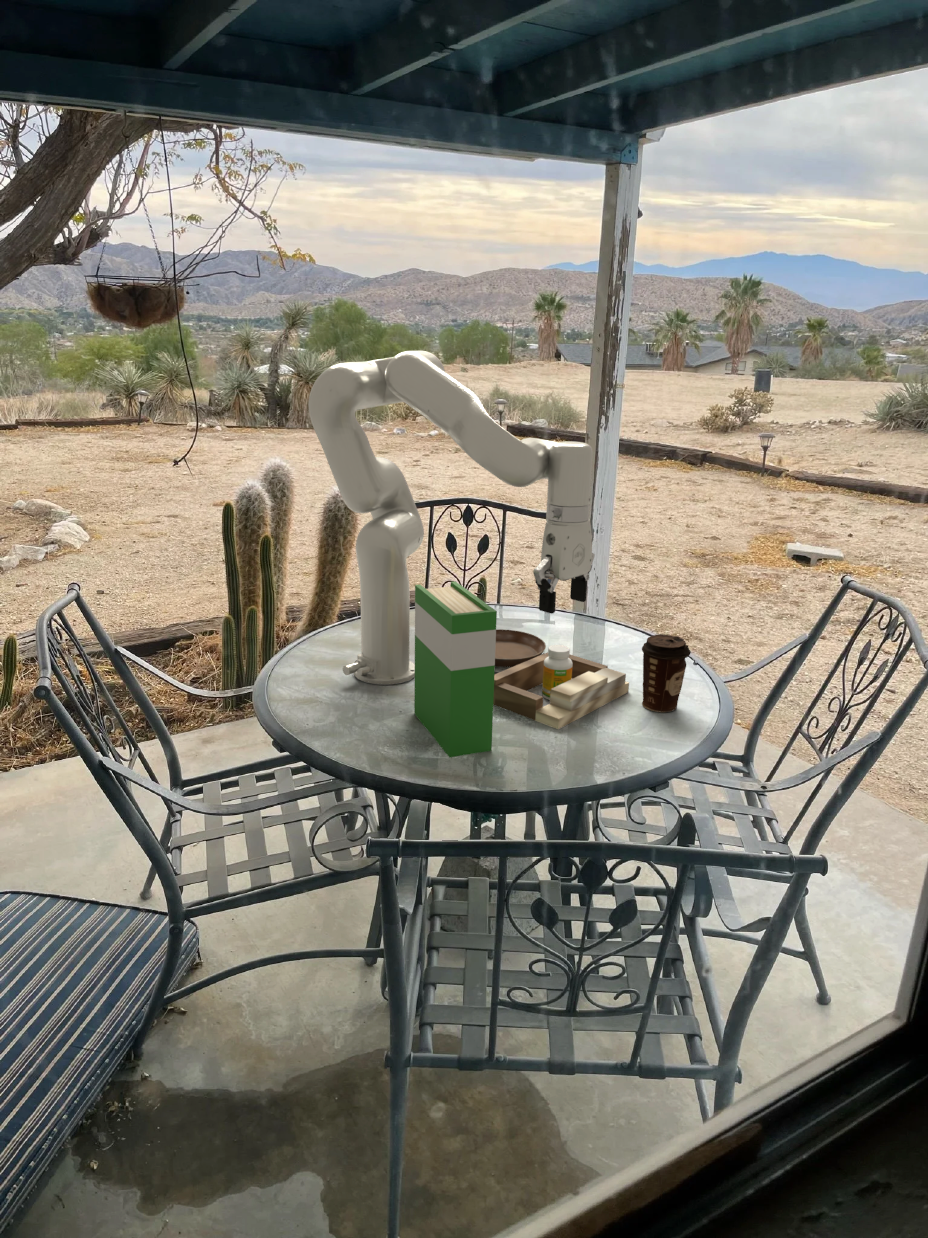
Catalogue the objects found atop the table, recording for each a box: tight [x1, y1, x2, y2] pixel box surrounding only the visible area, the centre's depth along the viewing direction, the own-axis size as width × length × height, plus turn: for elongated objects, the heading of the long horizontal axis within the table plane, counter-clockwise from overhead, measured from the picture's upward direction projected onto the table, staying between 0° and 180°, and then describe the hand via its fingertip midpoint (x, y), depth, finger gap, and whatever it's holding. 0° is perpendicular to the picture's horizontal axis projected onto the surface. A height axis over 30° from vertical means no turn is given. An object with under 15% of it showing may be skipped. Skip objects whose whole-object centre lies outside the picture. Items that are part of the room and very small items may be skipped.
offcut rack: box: [493, 651, 630, 730], centre depth 160 cm, size 23×16×5 cm
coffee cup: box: [641, 633, 692, 713], centre depth 156 cm, size 9×8×13 cm
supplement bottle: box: [541, 644, 573, 701], centre depth 159 cm, size 5×5×10 cm
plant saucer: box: [495, 628, 547, 668], centre depth 181 cm, size 18×18×3 cm
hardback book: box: [413, 581, 498, 758], centre depth 142 cm, size 18×7×24 cm, turn 22°
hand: (562, 605), depth 155 cm, fingers open, 9 cm apart
